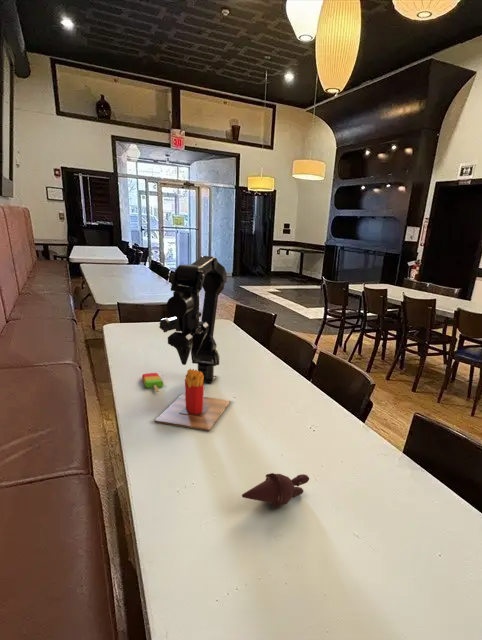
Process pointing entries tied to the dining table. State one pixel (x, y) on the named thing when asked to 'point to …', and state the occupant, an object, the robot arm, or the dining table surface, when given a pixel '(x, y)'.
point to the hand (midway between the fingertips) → (189, 359)
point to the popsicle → (152, 381)
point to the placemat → (184, 418)
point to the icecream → (277, 489)
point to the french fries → (194, 391)
